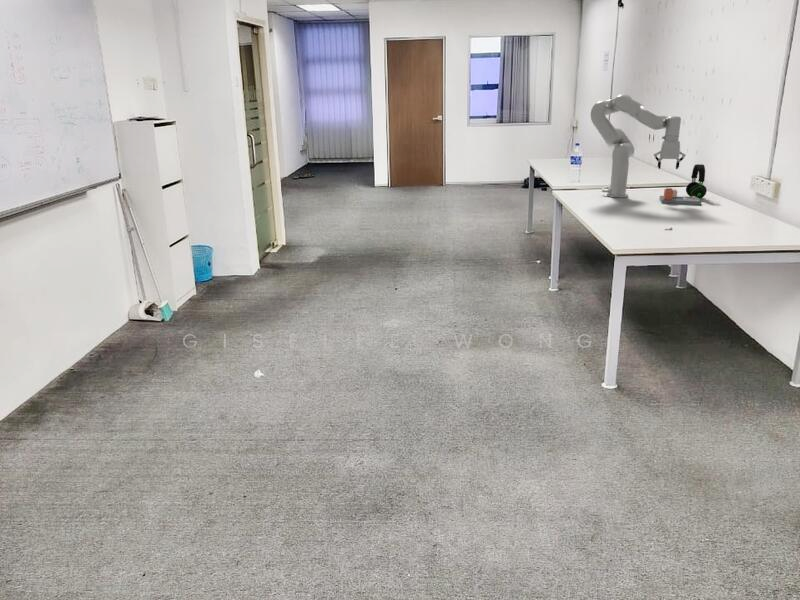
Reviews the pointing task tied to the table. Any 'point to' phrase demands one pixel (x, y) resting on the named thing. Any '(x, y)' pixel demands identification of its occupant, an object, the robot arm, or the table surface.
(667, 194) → the cap
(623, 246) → the table surface
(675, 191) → the block
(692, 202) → the panel
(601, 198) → the table surface
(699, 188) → the headphones
